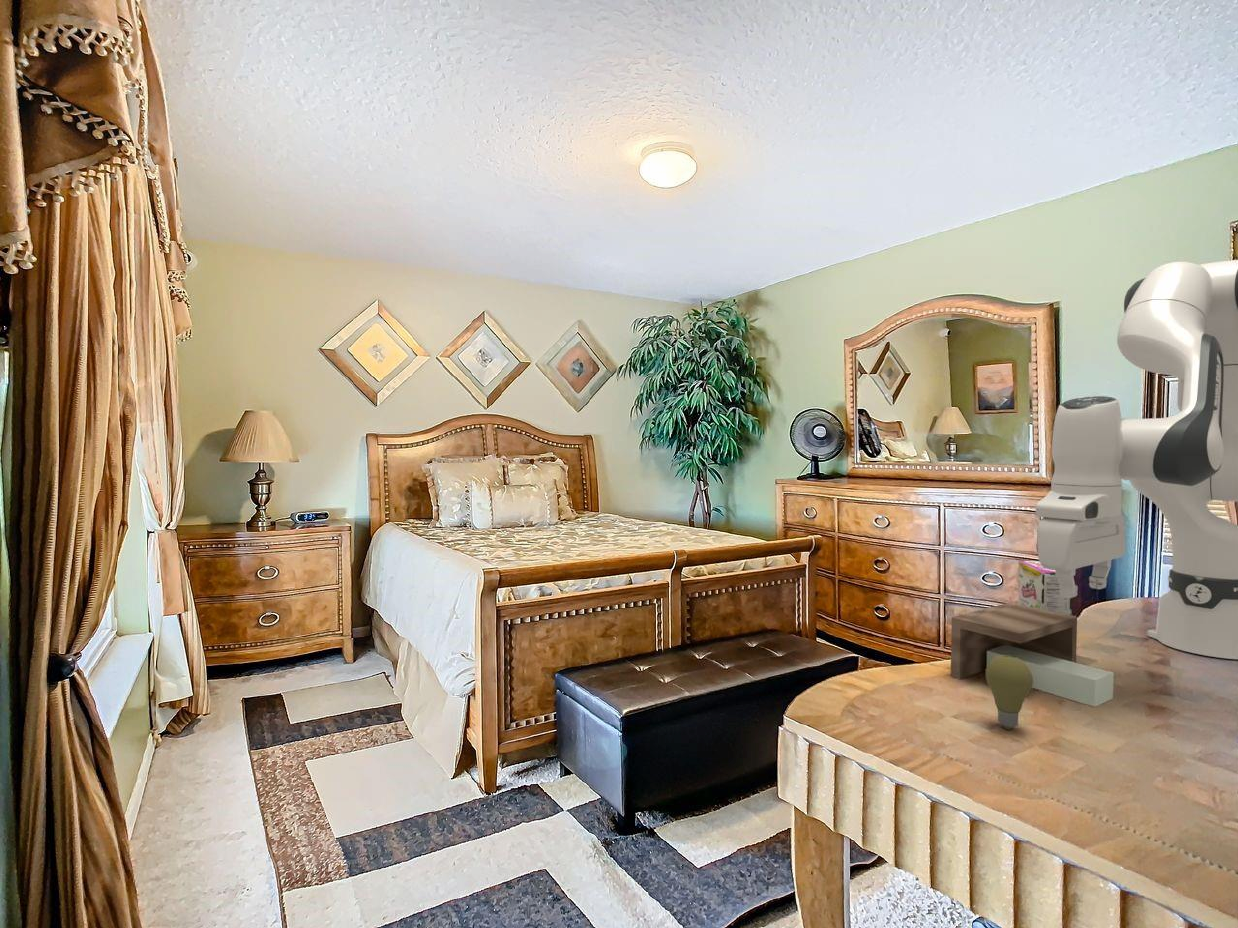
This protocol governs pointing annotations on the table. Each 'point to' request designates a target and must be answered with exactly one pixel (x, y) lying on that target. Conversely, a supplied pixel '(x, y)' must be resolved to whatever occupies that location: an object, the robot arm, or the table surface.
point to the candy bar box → (1041, 588)
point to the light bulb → (1009, 687)
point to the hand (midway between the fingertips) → (1083, 592)
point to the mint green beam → (1062, 676)
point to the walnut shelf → (1009, 635)
